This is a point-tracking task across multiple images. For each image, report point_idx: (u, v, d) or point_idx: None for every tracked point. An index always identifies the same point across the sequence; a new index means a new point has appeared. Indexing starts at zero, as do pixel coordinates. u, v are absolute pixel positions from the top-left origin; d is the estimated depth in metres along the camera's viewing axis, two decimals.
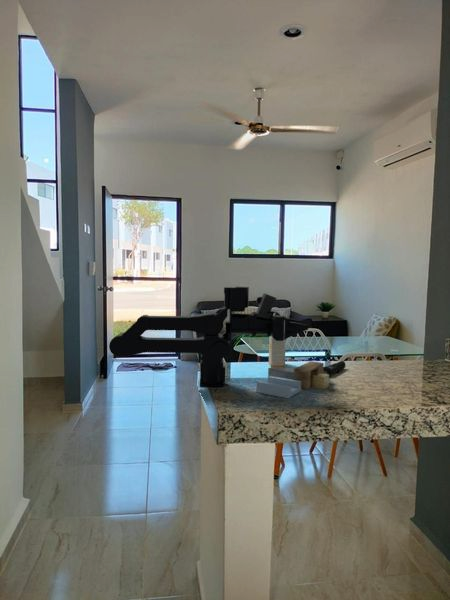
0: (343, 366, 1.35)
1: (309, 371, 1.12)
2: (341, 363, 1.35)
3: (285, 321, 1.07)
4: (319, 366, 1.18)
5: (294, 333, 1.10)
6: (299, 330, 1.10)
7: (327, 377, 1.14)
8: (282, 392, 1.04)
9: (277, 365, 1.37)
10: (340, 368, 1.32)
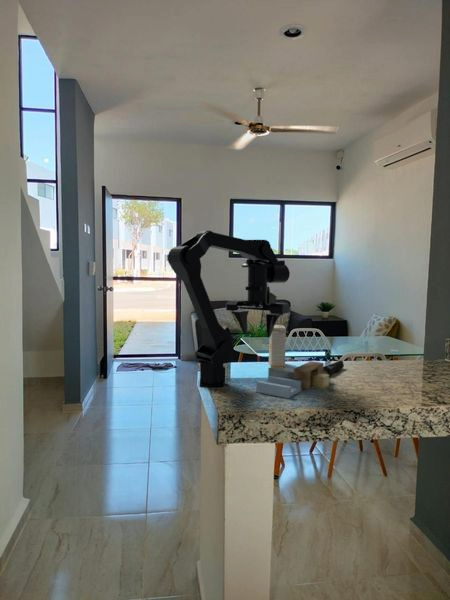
0: (342, 366, 1.35)
1: (309, 371, 1.12)
2: (340, 363, 1.35)
3: (282, 314, 1.21)
4: (319, 366, 1.18)
5: (270, 324, 1.20)
6: (270, 329, 1.21)
7: (327, 377, 1.14)
8: (282, 392, 1.04)
9: (277, 365, 1.37)
10: (339, 367, 1.32)
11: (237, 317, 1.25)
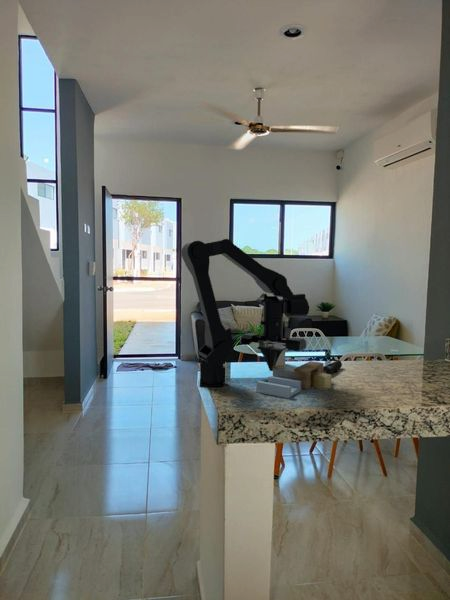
0: (340, 365, 1.36)
1: (309, 371, 1.12)
2: (338, 362, 1.36)
3: (286, 348, 1.22)
4: (319, 366, 1.18)
5: (274, 359, 1.20)
6: (274, 363, 1.21)
7: (329, 377, 1.13)
8: (282, 392, 1.04)
9: (277, 365, 1.37)
10: (337, 367, 1.33)
11: (263, 353, 1.21)
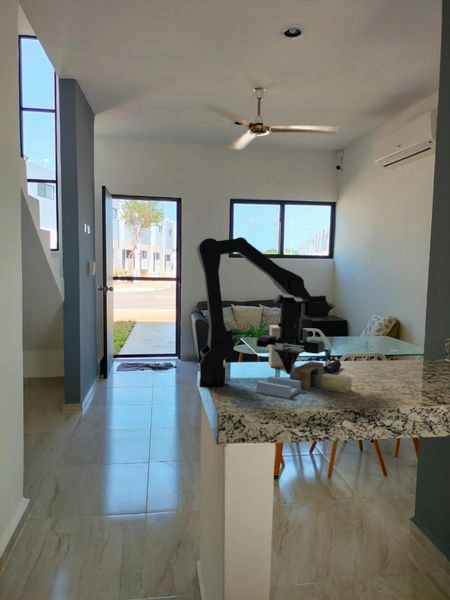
0: (339, 365, 1.36)
1: (309, 371, 1.12)
2: (337, 362, 1.36)
3: (304, 350, 1.19)
4: (319, 366, 1.18)
5: (292, 361, 1.17)
6: (291, 366, 1.18)
7: (349, 380, 1.11)
8: (282, 392, 1.04)
9: (277, 365, 1.37)
10: (337, 367, 1.33)
11: (280, 356, 1.18)
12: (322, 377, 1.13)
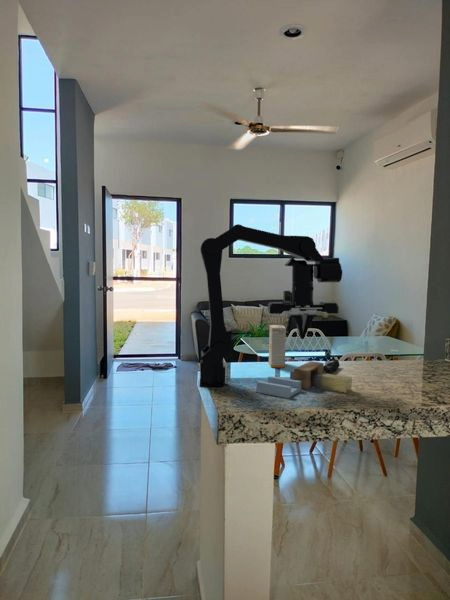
0: (338, 365, 1.36)
1: (309, 371, 1.12)
2: (336, 362, 1.36)
3: None
4: (319, 366, 1.18)
5: None
6: None
7: (349, 380, 1.11)
8: (282, 392, 1.04)
9: (277, 365, 1.37)
10: (335, 367, 1.33)
11: (298, 320, 1.14)
12: (322, 377, 1.13)
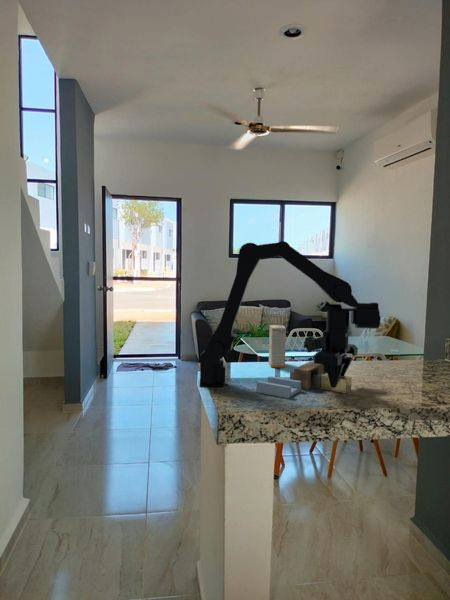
0: None
1: (309, 371, 1.12)
2: None
3: None
4: (319, 366, 1.18)
5: None
6: None
7: (349, 380, 1.10)
8: (282, 392, 1.04)
9: (277, 365, 1.37)
10: None
11: (341, 369, 1.08)
12: (322, 377, 1.12)
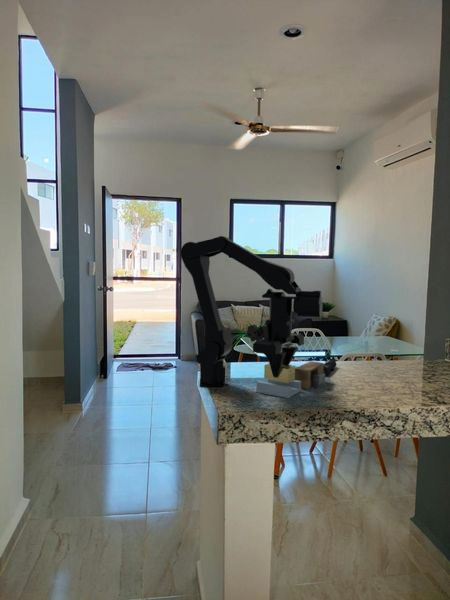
0: (335, 364, 1.37)
1: (309, 371, 1.12)
2: (333, 361, 1.37)
3: None
4: (319, 366, 1.18)
5: None
6: None
7: (292, 369, 1.07)
8: (282, 392, 1.04)
9: None
10: (333, 366, 1.34)
11: (282, 358, 1.05)
12: (265, 366, 1.09)
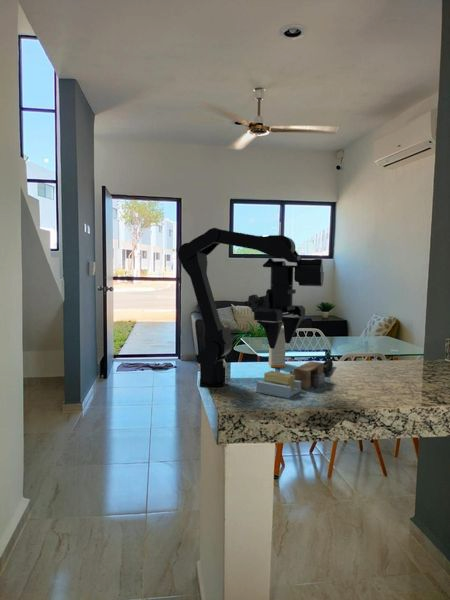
0: (332, 364, 1.38)
1: (309, 371, 1.12)
2: (330, 361, 1.37)
3: None
4: (319, 366, 1.18)
5: None
6: None
7: (292, 378, 1.07)
8: (282, 392, 1.04)
9: (277, 365, 1.37)
10: (330, 366, 1.35)
11: (279, 328, 1.02)
12: (265, 374, 1.09)
